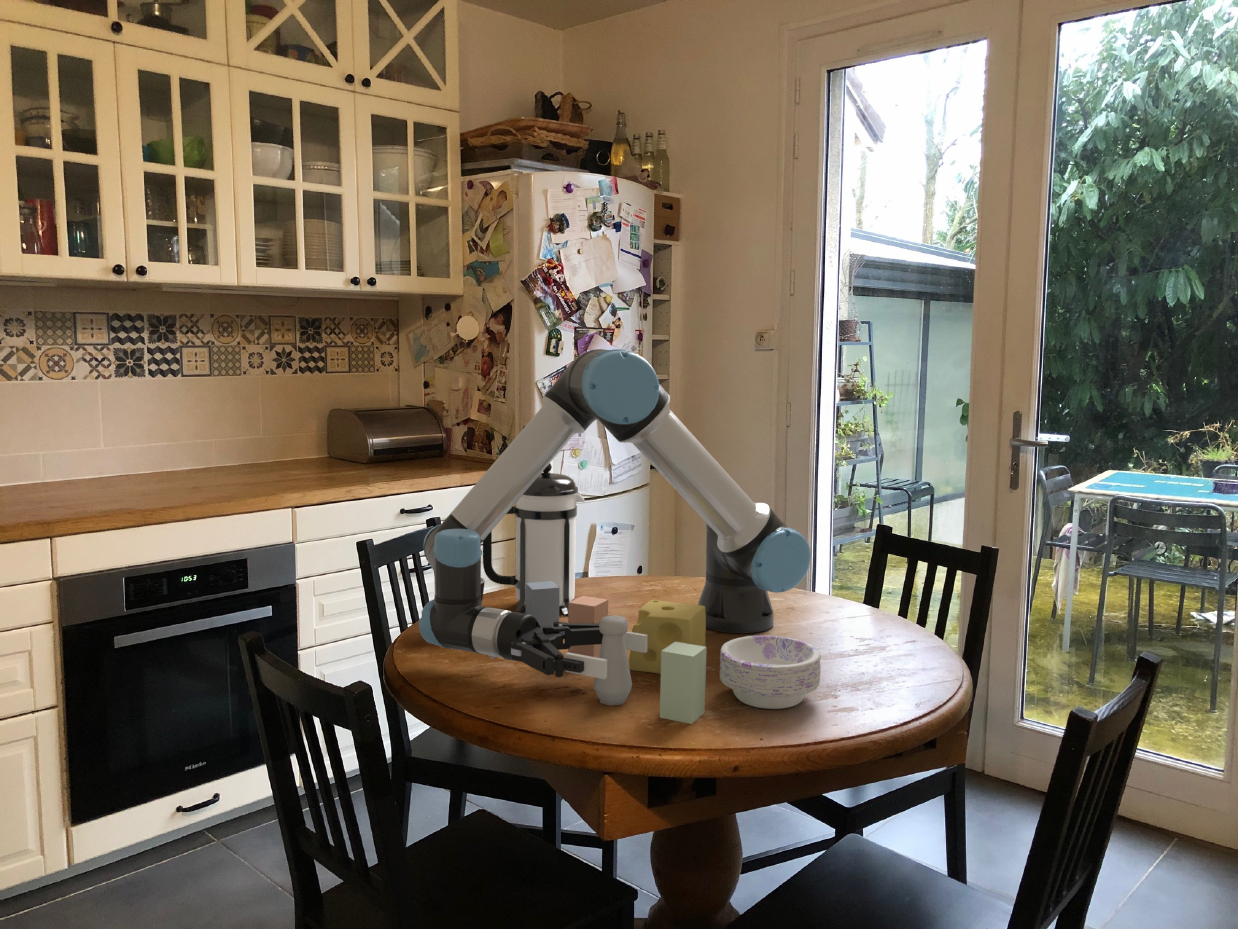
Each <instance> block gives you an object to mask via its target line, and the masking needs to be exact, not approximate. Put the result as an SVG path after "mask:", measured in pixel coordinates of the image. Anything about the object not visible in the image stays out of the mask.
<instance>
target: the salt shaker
mask: <svg viewBox="0 0 1238 929" xmlns="http://www.w3.org/2000/svg"><path fill="white" fill-rule="evenodd" d="M628 625H629V623H628V620H627V619H626V618H625V617H624V616H621V615H614V614H613V615H608V616H605V617H603V618H602V619H601V620H600V624H599V630H600V632H601V633H602V634H603V639H602V644H601V650H600V655H599V658H602V659H607V678H606V679H601V678H596V677H594V682H593V690H594V691H595V692H594V693H595V695H597V698H598V700H599V702H600V704H603V705H606V706H620V705H623V704H625V702H626V701H627V699H628V696H629V695H630V692H631V691H632V686H633V682H632V677H631V669H630V664H629V657H628V650H626V645H625V639H624V634H625V633H626V632H627V631H628V628H629V626H628Z"/></svg>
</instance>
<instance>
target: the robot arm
mask: <svg viewBox="0 0 1238 929" xmlns="http://www.w3.org/2000/svg"><path fill="white" fill-rule="evenodd" d="M670 400H671V395H669V393H668V392H667V391H666V390H665V388H663V386H662V385H661V384H660V381H659V378H658V375H657V373H656V371H655V369H654V368H653V366H652V365H651V363H650V362H648V361H647V359H646V358H644V357H642V356H641V355H639V354H637V353H635V352H632V351H629V350H627V349H620V348H619V349H614V348H613V349H602V348H599V349H598V348H596V349H591V350H588V351H585V352H583V353H581V354H580V355H578V356H577V357H576V358H575V359H574V360H573V361H572V362H570V364H569V365H568V366H567V367H566V368H565V370H564V371H563V372H562V373H561V375H559V377H558V378H557V380H556V381H555V382H554V383H553V384H552V386H551V387H550V388H549V389H548V391H546V393H545V394H544V395H543V397H542V406H541V408H540V409H539V410H538V411H537V412H536V413H535V414H534V416H533V417H531V419H530V420H529V422H527V424H525V426H524V427H523V428H522V429H521V430H520V432H519V433H518V434H517V435H516V437H515V438H513V440H512V441H511V442H510V443H509V445H508V446H507V447H506V448H505V450H503V451H502V453H501V454H500V455H499V456H498V457H497V459H495V461H494V462H493V463H492V464H491V466H489V468H488V469H487V471H485V473H484V474H483V475H481V477H480V478H479V480H477V482H476V483H475V484H474V485H473V487H472V488H470V490H469V491H468V492H467V493H466V495H464V497H463V498H462V499H461V500H460V502H459V503H458V504H457V505H456V506H455V508H454V509H453V510H452V511H451V512H450V513H449V514H448V515H447V517H446V518H445V519H444V520H443V521H442V523H441V524H438V525H435V526H434V527H431V529H430V530H429V531H428V532H427V533H426V534H425V537H424V539H423V553H424V557H425V559H426V562H428V564H429V565H430V567H431V569H432V571H433V576H434V579H433V582H434V598H433V599H431V600H429V601H428V602H427V603H425V605H424V607H423V608H422V610H421V616H420V618H419V620H418V630H419V633H420V635H421V638H422V639H423V640H425V642H426V643H428V644H431V645H432V644H433V645H435V646H438V647H442V648H444V649H448V650H457V651H463V652H469V653H474V654H479V655H480V654H481V655H485V656H489V658H490V659H495V658H502V659H505V660H509V661H515V662H521V663H523V664H525V665H526V666H528V667H531V668H532V669H534V670H536V671H538V672H540V673H542V674H543V675H546V676H552V675H554V677H555V678H562V677H564V672H565V673H571V674H576V675H582V676H587V677H591V678H595V677H596V678H601V679H606V678H607V659H602V658H596V657H591V656H585V655H580V654H574V653H569V652H568V651H567V652H565V653H564V654H563V653H562V652H561V651H560V650H568V649H569V648H570V647H571V646H579V645H597V644H602V639H603V634H602V633H601V632H600V630H599V623H568V622H561V621H559V622H558V621H556V622H553V626H543V627H541V626H540V625H539V623H538V622H537V619H536V618H535V617H534V616H533V615H531V614H526V612H525V613H519V612H515V611H511V610H509V609H508V610H507V609H501V608H495V607H488V606H483V605H482V606H481V578H482V577H481V576H482V574H481V573H482V557H483V549H482V547H481V546H482V544H483V540H484V539H485V538H486V537H487V536H488V534H489V533H490V532H491V531H492V532H493V530H494V529H495V528H496V526H497V525H498V524H499V523H500V522H501V521H502V520H503V518H504V517H505V516H506V515H507V514H506V513H507V512H508V511H509V510H510V509H511V508H512V506H515V505H516V502H517V501H518V499H519V498H520V497H521V496H522V495H523V494H524V493H525V491H526V490H527V489H528V488H529V487H530V486H531V484H532V483H533V482H534V481H535V480H536V479H537V477H538V476H539V475H540V474H541V473H543V470H544V469H545V468H546V467H547V466H548V465H549V463H550V464H551V463H552V461H554V459H555V457H557V456H558V454H559V453H560V452H561V451H562V450H563V449H564V447H566V445H567V444H568V442H569V441H570V440H571V439H572V438H573V437H574V435H576V434H583V433H585V432H586V430H587V429H588V428H589V427H590V426H591V425H592V424H593V423H594V422H595V421H596V420H598V421H599V422H600V423H601V424H602V426H603V427H604V428H605V429H607V431H608V432H609V433H610V434H611V435H612V436H613V437H614V439H615V440H617V442H618V443H629V444H632V445H633V446H634V448H636V449H637V450H638V451H639V452H640V453H641V455H643V457H644V458H646V460H647V461H649V463H650V464H651V465H652V466H653V468H655V470H657V472H658V473H659V474H660V475H661V476H662V477H663V478H664V479H665V480H666V481H667V482H668V483H669V484H670V485H671V486H672V487H673V489H674V490H675V491H676V492H677V493H678V494H679V495H680V496H681V497H682V498H683V499H684V500H685V502H687V503H688V505H689V506H690V507H691V508H692V509H693V510H694V511H695V512H696V514H698V516H699V517H700V518H701V519H703V521H704V522H705V527H706V543H705V544H706V548H705V550H706V552H705V582H704V586H703V588H702V590H701V594H700V597H699V599H698V603H697V605H701V606H705V613H706V630H711V631H715V632H720V633H727V634H752V633H761V632H764V631H767V630H769V629H771V628H773V627H774V623H775V622H774V621H775V620H774V619H775V617H774V615H775V613H774V610H773V606H772V602H771V599H770V596H769V592H770V593H785V592H787V591H790V590H792V589H794V588H795V587H797V586H798V585H799V584H800V583H801V582H802V580H803V579H805V577H806V575H807V573H808V571H809V569H810V565H811V558H812V557H811V556H812V555H811V554H812V552H811V547H810V544H809V542H808V540H807V539H806V538H805V537H804V535H802V534H801V532H799V531H797V529H794V528H791V527H789V526H788V525H786V524H785V522H783V521H782V519H781V518H780V517H779V516H778V515H777V514H776V513H775V511H774V510H772V508H771V507H770V506H769V504H767V503H766V502H765V503H764V502H754V501H753V500H752V499H751V497H749V495H748V494H747V493H746V492H745V491H744V490H743V489H742V488H741V487H740V485H739V484H738V483H737V482H736V481H735V480H734V479H733V477H731V476H730V475H729V473H728V472H727V471H726V470H725V468H723V466H721V465H720V463H719V462H718V461H717V460H716V459H715V458H714V457H713V455H711V453H710V452H709V451H708V450H707V449H706V448H705V446H704V445H702V443H701V442H700V441H699V440H698V439H697V438H696V437H695V436H694V434H693V433H692V432H691V431H690V430H689V429H688V428H687V427H686V426H685V424H684V423H683V422H682V421H681V420H680V419H679V418H678V416H676V415H675V413H674V412H673V411H672V410H671V408H670V402H671V401H670ZM624 639H625V645H626V651H631V650H632V651H637V652H643V653H646V652H647V639H648V635H646V634H640V633H634V632H632V631H628V630H627V632H626V633H625V634H624ZM564 656H565V657H564ZM554 672H555V674H554Z"/></svg>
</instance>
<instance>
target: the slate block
mask: <svg viewBox="0 0 1238 929" xmlns="http://www.w3.org/2000/svg"><path fill="white" fill-rule="evenodd" d="M559 591H560V588H559V587H558V586H557V585H556V584H555V583H554V582H553V581H546V582H531V583H526V605H525V606H526V612H525V614H531V615H533V616H534V617H535V618H536V619H537V622H538V623H539V625H540V626H541V627H543V626H553V622H556V621H558V622H560V608H559Z"/></svg>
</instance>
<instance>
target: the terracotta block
mask: <svg viewBox="0 0 1238 929" xmlns="http://www.w3.org/2000/svg"><path fill="white" fill-rule="evenodd" d="M605 616H609V599H606V598H599V597H595V596H594V597H593V596H587V595H581V596H580V597H579V596H578V597H577V598H575V599H573V601H571V602H569V608H568V615H567V618H568V622H567V623H599V624H600V620H601V619H602V618H603V617H605ZM600 650H601V644H597V645H579V646H571V647H570V648H569V649H567V653H568V652H569V653H574V654H580V655H585V656H591V657H596V658H599V655H600Z"/></svg>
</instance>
